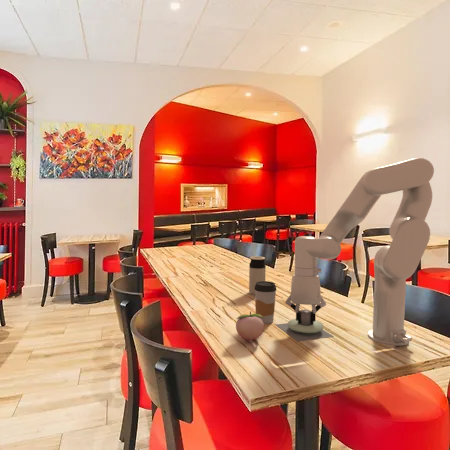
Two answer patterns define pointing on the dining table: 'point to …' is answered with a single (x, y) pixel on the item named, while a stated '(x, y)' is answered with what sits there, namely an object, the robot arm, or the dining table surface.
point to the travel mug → (256, 272)
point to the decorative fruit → (249, 326)
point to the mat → (303, 336)
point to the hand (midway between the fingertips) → (305, 322)
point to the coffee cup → (265, 300)
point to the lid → (305, 323)
